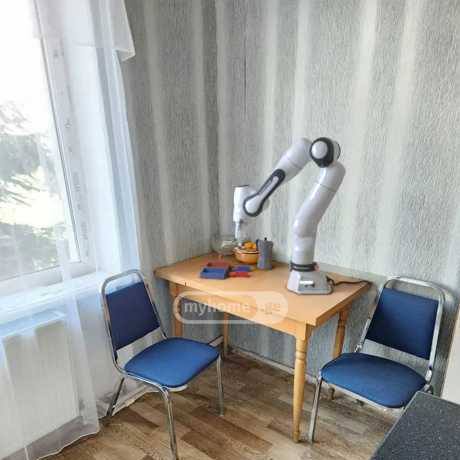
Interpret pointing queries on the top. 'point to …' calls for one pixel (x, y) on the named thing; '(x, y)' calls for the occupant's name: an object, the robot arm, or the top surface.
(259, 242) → the coffeepot
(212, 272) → the blue bin
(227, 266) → the red bin
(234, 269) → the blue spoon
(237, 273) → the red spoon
